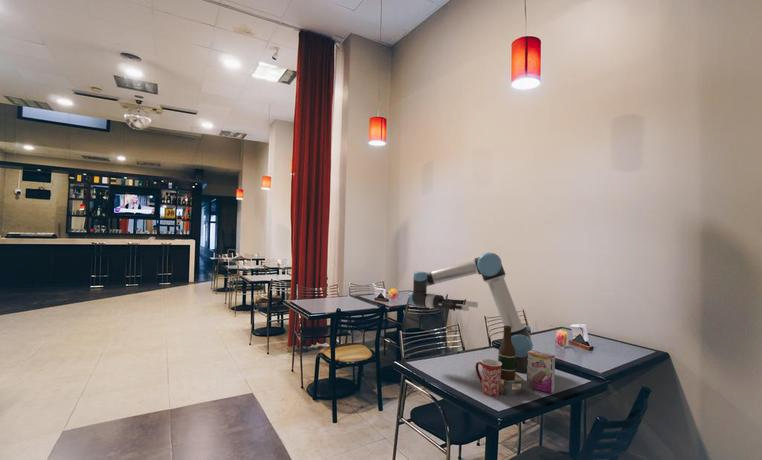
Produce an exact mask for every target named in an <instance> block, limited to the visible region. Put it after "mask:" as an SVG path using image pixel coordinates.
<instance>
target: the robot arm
mask: <svg viewBox="0 0 762 460" xmlns="http://www.w3.org/2000/svg"><path fill="white" fill-rule="evenodd" d="M473 275H479V276H481V277H482V280H483V282H485V283H487V285H488V287H489V291H490V292H491V295H492V298H493V301H494V303H495V306H496V308H497V311H498V314H499V317H500V320H501V323H502V325H503V327H504V326H511V328H512V329H511V341H512V345H513V346H514V348H515V353H516V362H515V372H518V373H527V352H528V351H530V350H533V347H534V346H533V345H534V344H533V342H532V337H531V336H532V335H531V333H532V330H531V329H532V328H531V326H529V325H526V324H523V323H522V322H521V320H520V317H519V314H518V311H517V309H516V306H515V304H514V301H513V298H512V296H511V294H510V290H509V288H508V285H507V283H506V280H505V277H506V275H507V274H506V272H505V269H504V267H503V264H502V259H501V258H500V256H499V255H498V254H496V253H493V252H486V253H483V254H481V255H479V256H478V257H476V258H473V260H472V261H467V262H464V263H463V262H462V263H459V264H457V265H452V266H449V267H444V268H441V269H437V270H434V271H429V272H426V271H415V272H414V273H413V284H412V285H413V290H412V291H411V292H409V295H408V304H409V305H411V306H416V307H422V308H427V309H428V308H429V310H432V309H436V310H443V309H446V310H447V309H448V310H450V311H451V310H452V311H453V312H455V311H457V310H458V311H464V312H469V311H470V308H478V307H479V306H478V305H479V304H478V303H479V302H478V301H472V300H471V301H470V300H469V301H468V300H467V299H466V298H465V299H450V298H446V299H445V297H444V295H442V294H434V293H432V294H431V293H427V287H429V286H433V285H437V284H440V283H444V282H449V281H453V280H457V279H461V278H464V277H469V276H473ZM502 333H503V334H502V335H504V329H503V330H502Z"/></svg>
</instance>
